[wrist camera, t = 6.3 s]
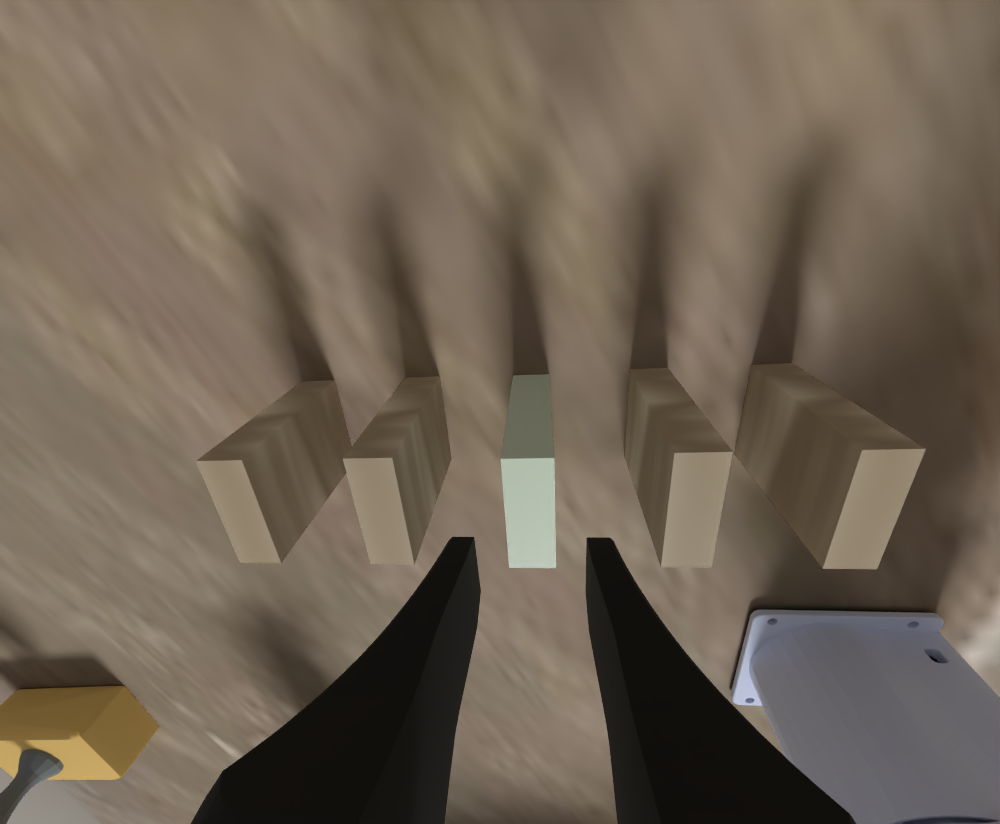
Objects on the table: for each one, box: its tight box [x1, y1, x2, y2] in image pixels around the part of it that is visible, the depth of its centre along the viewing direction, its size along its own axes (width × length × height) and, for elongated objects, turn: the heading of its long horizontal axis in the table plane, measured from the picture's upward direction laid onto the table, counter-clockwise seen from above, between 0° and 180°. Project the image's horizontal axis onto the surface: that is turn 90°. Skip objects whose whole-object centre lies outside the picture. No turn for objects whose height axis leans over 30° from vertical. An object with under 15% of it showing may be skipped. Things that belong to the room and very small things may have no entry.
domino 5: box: [735, 363, 926, 569], centre depth 16 cm, size 2×4×7 cm, turn 4°
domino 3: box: [501, 374, 556, 568], centre depth 17 cm, size 2×4×7 cm, turn 4°
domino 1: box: [196, 380, 351, 563], centre depth 18 cm, size 2×4×7 cm, turn 4°
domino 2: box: [343, 376, 451, 565], centre depth 18 cm, size 2×4×7 cm, turn 4°
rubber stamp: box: [0, 686, 159, 824], centre depth 29 cm, size 10×6×12 cm, turn 101°
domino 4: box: [624, 368, 733, 567], centre depth 16 cm, size 2×4×7 cm, turn 4°
